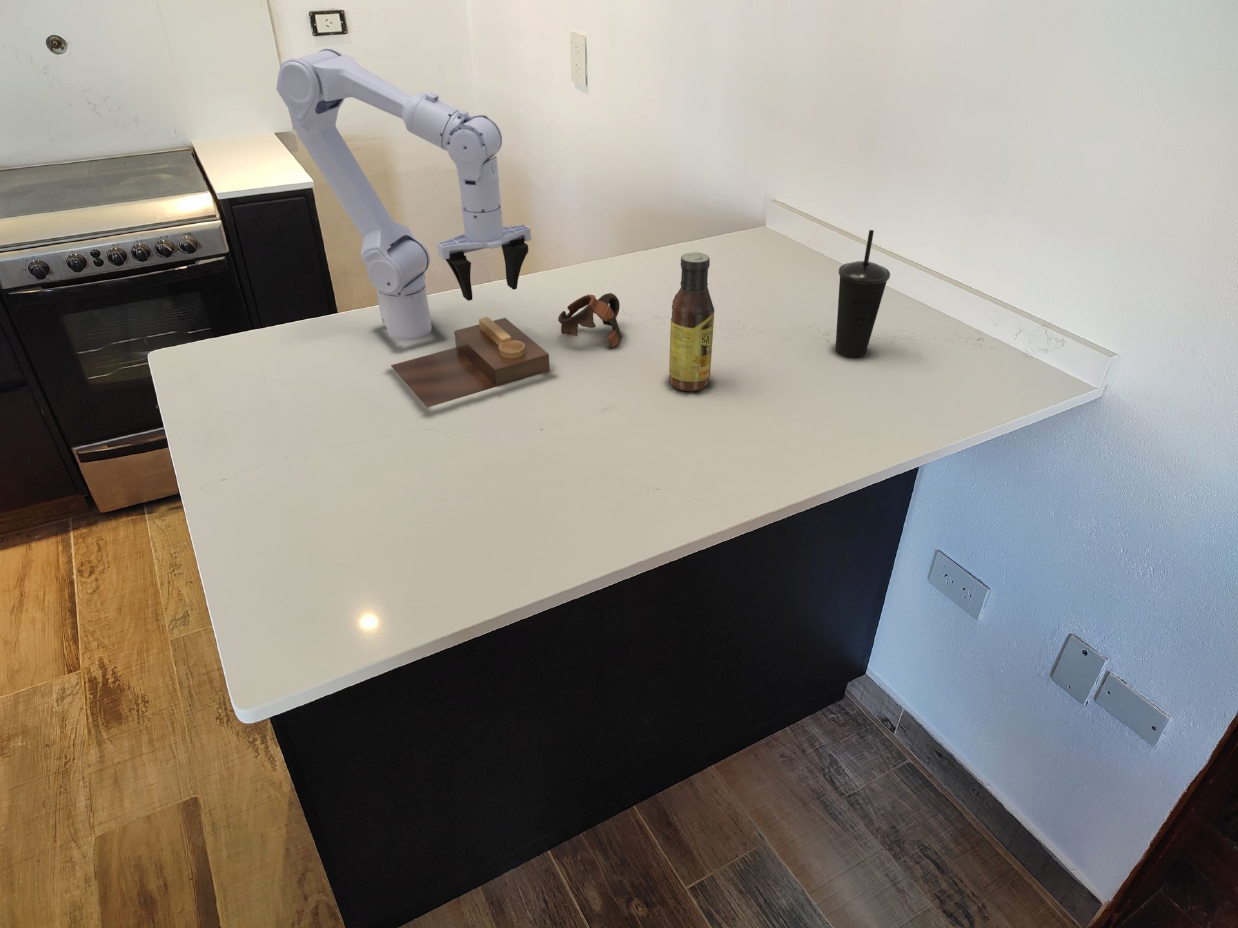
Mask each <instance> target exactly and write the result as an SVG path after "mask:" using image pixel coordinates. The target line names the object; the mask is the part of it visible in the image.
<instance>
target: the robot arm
mask: <svg viewBox="0 0 1238 928" xmlns="http://www.w3.org/2000/svg"><path fill="white" fill-rule="evenodd" d="M276 81H277V82H276V92H277V93H278V95H279V96H280V98H281V99H282V101H283V102H284V104H285V106H286V107H287V109H288V112H289V115H290V120H291V123H292V126H293V129H294V131H295V133H296V135H297V137H298V138H299V140H300V142H301V143H302V145H303V146H304V148H305V150H306V152H307V153H308V154H309V156H310V158H311V160H312V161H313V162H314V164H315V165H316V167H317V168H318V170H319V171H320V173H321V174H322V177H323V178H324V179H325V181H326V183H327V184H328V186H329V188H330V189H331V190H332V192H333V194H334V195H335V196H336V198H337V200H338V202H339V204H341V206H342V209H344V211H345V213H346V215H347V216H348V218H349V219H350V220H351V222H352V224H353V225H354V227H355V229H356V230H357V232H358V233H359V234H360V236H361V238H362V243H361V249H360V259H361V261H362V262H363V264H364V265H365V268H366V272H367V276H368V280H369V281H370V283H371V285H372V286H373V287H374V288H375V289H376V290H377V291H376V296H377V302H378V309H379V313H380V319H381V324H382V325H383V326H384V327H385V328H386V329H387V334H388V336H389V337H390V338H393V339H395V340H401V341H411V340H416V339H421V338H423V337H425V336H427V335H428V334H430V333H431V331H432V329H433V327H432V322H431V321H432V320H431V315H430V307H429V300H428V299H429V298H428V293H427V287H426V279H427V278H426V272H427V271H428V269H429V267H430V265H431V255H430V253H429V250H428V248H427V247H426V246H425V244H424V243H423V242H421V241H420V240H419V239H418V238H416V236H415V235H414V234H413V233H412V231H411V230H410V228H409V227H408V226H405V225H403V224H401V223H398V222H396V221H394V220H393V217H392V216H391V214H390V213H389V211H388V209H387V207H385V205H384V203H383V201H382V200H381V198H380V197H379V194H378V193H377V192H376V190H375V188H374V187H373V185H372V184H371V182H370V180H369V179H368V177H367V175H366V174H365V172H364V170H363V168H362V167H361V165H360V164H359V163H358V161H357V159H356V157H355V156H354V154H353V153H352V150H350V148H349V146H348V144H347V143H346V141H345V139H344V138H343V136H342V134H341V133H340V131H339V129H338V128H337V126H336V124H337V121H338V115H339V111H340V108H341V106H342V105H343V103H344V101H345V99H347V98H349V99H350V98H354V99H356V100H358V101H360V102H363V103H365V104H368V105H369V106H372V107H374V108H376V109H378V110H381V111H383V112H385V113H388V114H390V115H392V116H394V117H397V118H399V119H402V121H403V124H404V126H405V128H406V130H407V132H409V133H411V134H412V135H414V136H416V137H418V138H420V139H422V140H424V141H425V142H429V143H430V144H432V145H434V146H436V147H438V148H439V149H442V150H444V151H446V152H447V153H448V155H449V157H450V159H451V160H452V161H453V163H454V165H455V167H456V173H457V176H458V184H459V192H460V202H461V211H462V219H463V227H464V233H462V234H460V235H457V236H455V237H452V238H450V239H447V240H444V241H440V242H436V249H437V255H438V256H439V258H441V259H442V260H445V262H446V263H447V264H448V266H449V268H450V269H451V271H452V272H453V274H454V276H455V279H456V280H457V283H458V285H459V288H460V291H461V294H462V297H463V299H465V300H466V301H469V302H470V301H473V288H472V282H471V271H472V269H471V268H472V262H471V261H469V259H467V255H465V254H467V253H472V252H476V251H481V250H485V249H490V250H493V249H497V248H501V250H502V254H503V259H504V266H505V280H506V285H507V286H508V288H510V289H512V290H517V289H518V285H519V284H518V282H519V278H520V272H521V270H522V266H523V263H524V261H525V259H526V256H527V255H528V253H529V244H527V243H526V242H529V241H532V233H531V228H530V226H528V225H526V224H520V225H513V226H512V225H510V226H504V223H503V214H502V213H503V212H502V201H501V200H502V198H501V189H500V178H499V177H500V176H499V168H498V157H497V154H498V153H499V152H500V150H501V148H502V145H503V144H502V143H503V136H502V132H501V129H500V128H499V126H498V124H497V123H496V122H495V121H494V120H492V119H491V118H489V117H488V115H485V114H476V115H473V116H471V115H469V112H468V111H467V110H465V109H461V110H459V109H458V108H455V107H453V106H451V105H450V104H448V103H445V102H444V101H441V100H440V99H439V98H440V96H439V94H436V93H434V92H433V91H430V92H427V93H426V92H419V93H416V94H415V95H411V94H409V93H408V92H406V91H404V90H403V89H401V88H399V87H397V86H396V85H394V84H393V83H390V82H389V81H388V80H385V79H383V78H382V77H380V76H379V75H377V74H375V73H374V72H372V71H370V70H368V69H366V68H365V67H363V66H361V65H360V64H359V63H358V62H357V61H356V60H355V58H354V57H353V56H350V55H346V54H343V53H341V52H340V51H338V50H336V49H334V48H331V47H330V48H327V47H326V48H323V49H321V50H318V51H317V52H314V53H310V54H307V55H303V56H300V57H297V58H289V59H287V60H285V61H283V63H282V64H281V65H280V67H279V69H278V75H277V80H276Z"/></svg>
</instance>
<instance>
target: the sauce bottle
mask: <svg viewBox="0 0 1238 928" xmlns="http://www.w3.org/2000/svg"><path fill="white" fill-rule="evenodd" d="M710 261H711V258H710V256H709V255H708V254H706V253H702V252H697V251H695V252H693V251H692V252H687V253H683V254H682V255H681V257H680V268H681V276H680V278H681V279H680V288H679V289H678V291H677V293H676V294H675V295H674V298H673V300H672V304H671V318H670V332H669V333H670V335H669V337H670V338H669V357H668V359H669V364H668V365H669V366H668V373H669V382H670V385H671V386H672V387H673V388H674V389H677V390H679V391H684V392H697V391H700V390H702V389H704V388H706V387H707V386H708V384H709V382H710V376H711V370H712V368H711V367H712V355H713V354H712V353H713V339H714V325H715V324H714V323H715V307H714V304H713V300H712V298H711V295H710V290H709V287H708V286H709V283H708V278H709V277H708V275H709V268H710V266H711V264H710V263H711V262H710Z"/></svg>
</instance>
